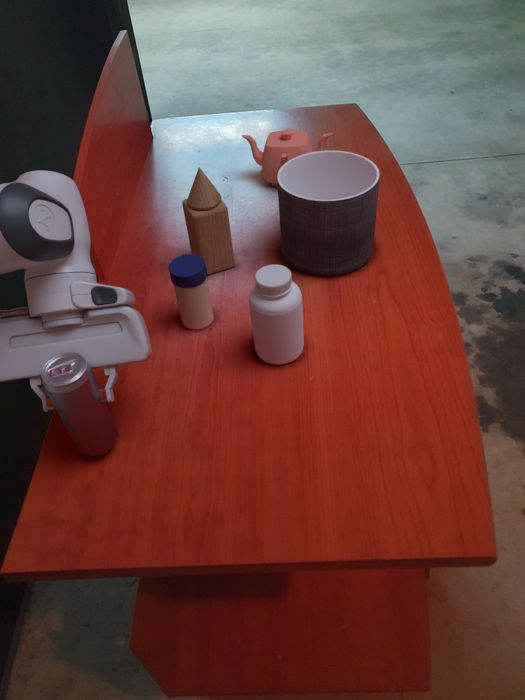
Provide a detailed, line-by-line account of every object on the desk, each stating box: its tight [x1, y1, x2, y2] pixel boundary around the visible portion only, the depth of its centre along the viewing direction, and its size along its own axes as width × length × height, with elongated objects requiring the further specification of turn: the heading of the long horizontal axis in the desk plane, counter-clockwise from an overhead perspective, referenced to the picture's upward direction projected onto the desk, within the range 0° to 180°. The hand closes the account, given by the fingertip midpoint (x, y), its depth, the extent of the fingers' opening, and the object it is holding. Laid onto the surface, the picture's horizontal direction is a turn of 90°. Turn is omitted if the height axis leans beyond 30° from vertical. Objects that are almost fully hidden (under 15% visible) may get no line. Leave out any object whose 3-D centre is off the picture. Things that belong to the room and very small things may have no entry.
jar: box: [172, 277, 215, 330], centre depth 95 cm, size 6×6×11 cm
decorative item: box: [181, 166, 235, 276], centre depth 103 cm, size 7×7×20 cm
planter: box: [277, 150, 381, 277], centre depth 105 cm, size 18×18×16 cm
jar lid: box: [168, 253, 209, 288], centre depth 92 cm, size 6×6×2 cm
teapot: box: [241, 127, 334, 187], centre depth 127 cm, size 14×14×11 cm
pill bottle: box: [248, 264, 305, 366], centre depth 87 cm, size 8×8×15 cm
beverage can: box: [41, 353, 119, 457], centre depth 75 cm, size 6×6×15 cm
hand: (79, 406), depth 74 cm, fingers closed on beverage can, 6 cm apart
